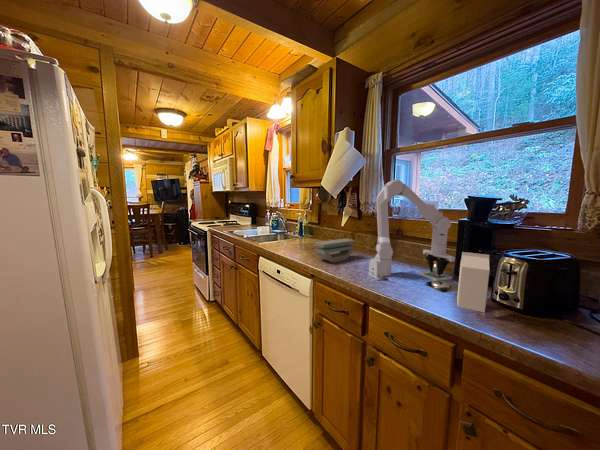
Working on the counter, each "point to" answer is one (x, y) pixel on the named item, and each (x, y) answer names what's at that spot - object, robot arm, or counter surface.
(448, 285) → the pulley deck
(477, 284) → the milk carton
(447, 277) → the tray
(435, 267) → the lock pin
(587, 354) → the counter surface
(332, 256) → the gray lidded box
